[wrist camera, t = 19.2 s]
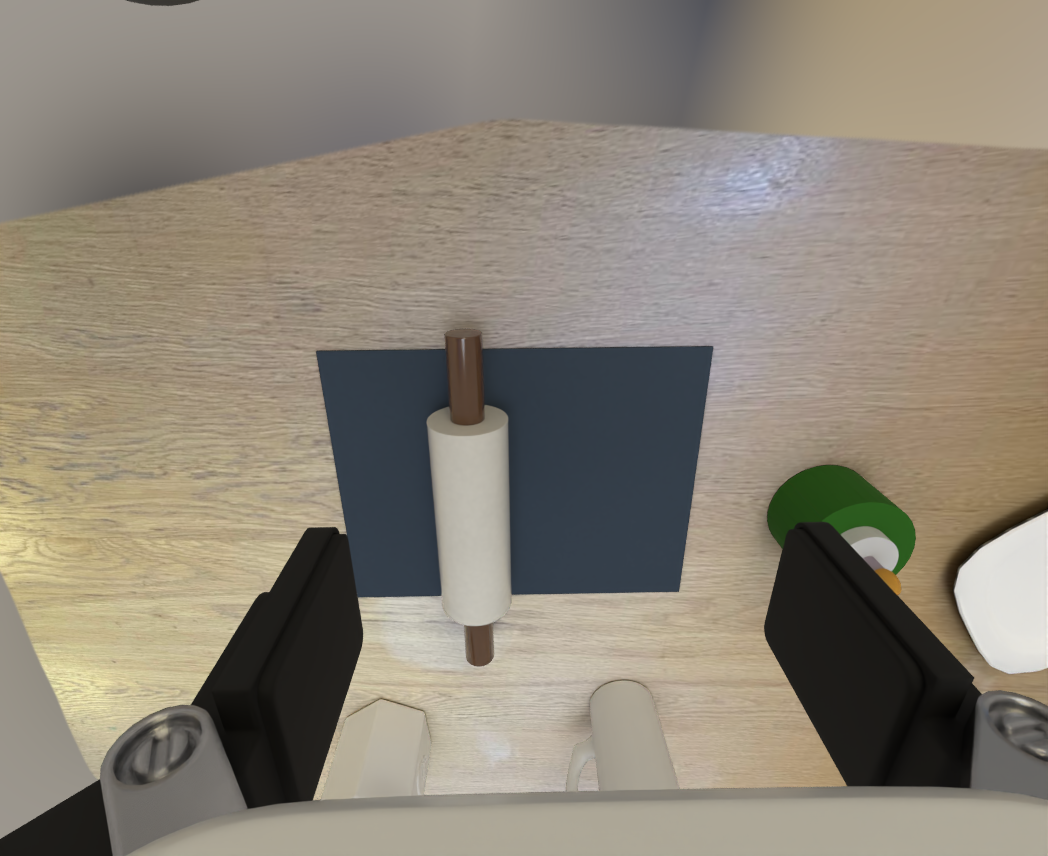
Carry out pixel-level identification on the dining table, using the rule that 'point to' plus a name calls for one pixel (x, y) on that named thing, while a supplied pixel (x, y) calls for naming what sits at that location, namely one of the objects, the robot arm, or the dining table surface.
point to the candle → (846, 516)
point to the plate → (1008, 597)
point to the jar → (380, 754)
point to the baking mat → (526, 463)
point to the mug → (624, 742)
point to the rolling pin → (471, 498)
